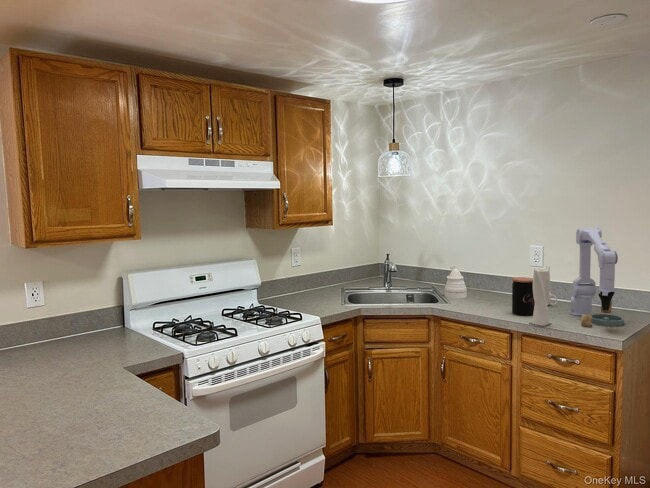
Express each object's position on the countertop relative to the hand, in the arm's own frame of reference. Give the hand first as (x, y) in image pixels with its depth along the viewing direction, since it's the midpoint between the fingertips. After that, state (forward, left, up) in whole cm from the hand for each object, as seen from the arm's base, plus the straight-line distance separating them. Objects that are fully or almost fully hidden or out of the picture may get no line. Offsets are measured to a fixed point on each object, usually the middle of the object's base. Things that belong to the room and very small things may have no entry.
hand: (606, 308), depth 221 cm
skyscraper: (-26, -4, -10) cm, 28 cm away
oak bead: (-8, +3, -9) cm, 13 cm away
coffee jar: (-38, +14, -10) cm, 42 cm away
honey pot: (-83, +41, -10) cm, 93 cm away
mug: (-32, +39, -10) cm, 51 cm away
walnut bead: (0, 0, -2) cm, 2 cm away
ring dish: (-1, +14, -9) cm, 17 cm away
